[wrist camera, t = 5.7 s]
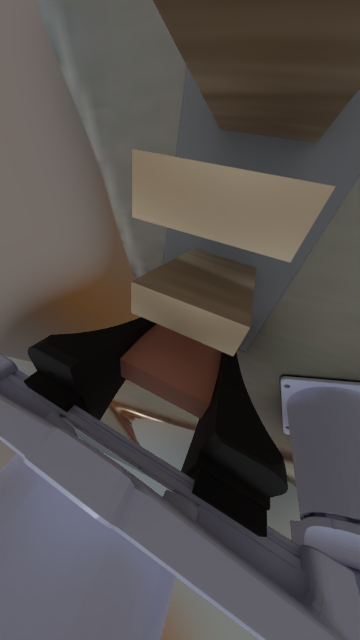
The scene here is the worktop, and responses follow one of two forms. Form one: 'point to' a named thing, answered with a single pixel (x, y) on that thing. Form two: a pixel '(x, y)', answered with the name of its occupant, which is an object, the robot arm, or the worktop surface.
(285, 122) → the domino
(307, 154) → the mat
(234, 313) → the domino
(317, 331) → the worktop surface
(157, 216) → the domino
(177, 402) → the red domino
